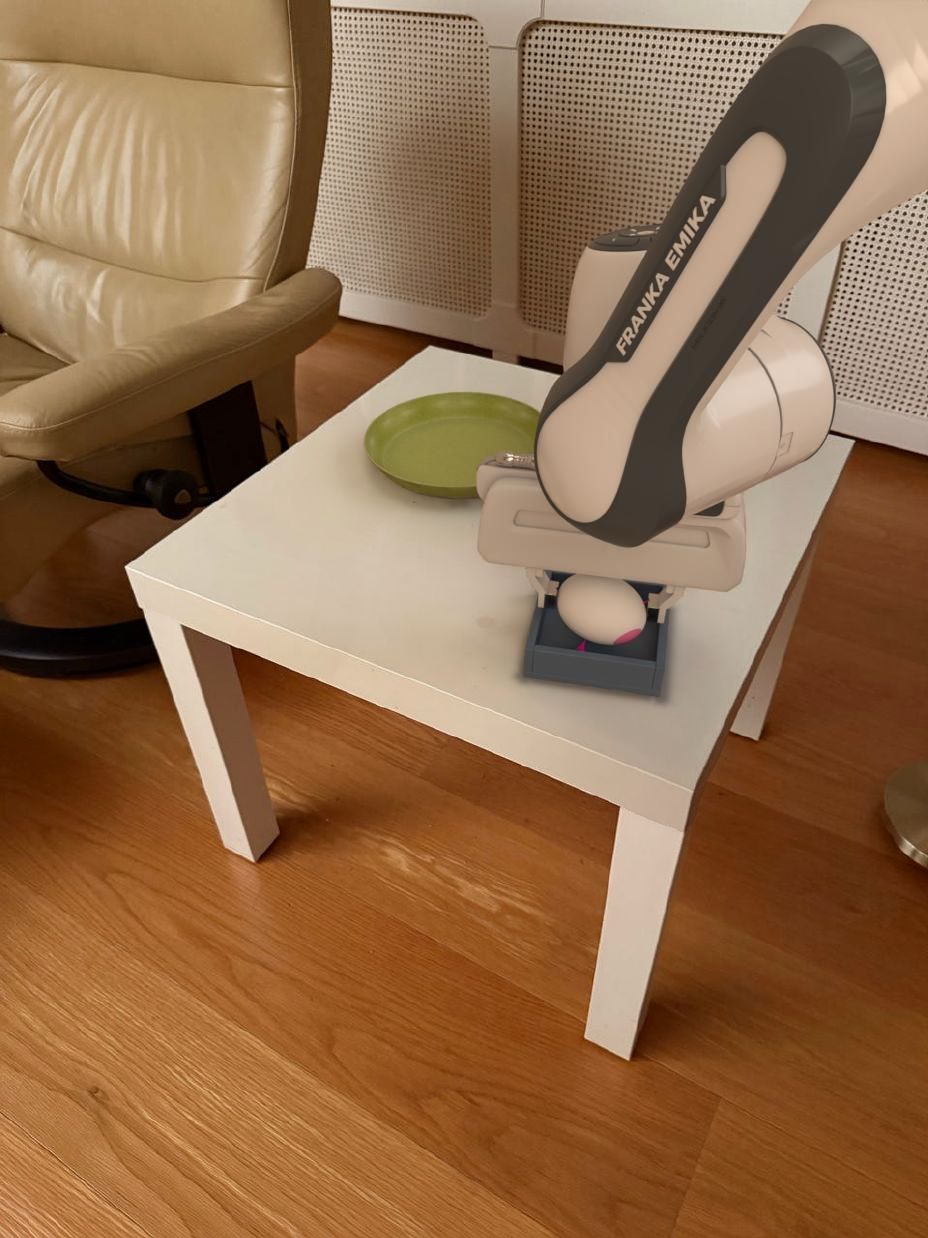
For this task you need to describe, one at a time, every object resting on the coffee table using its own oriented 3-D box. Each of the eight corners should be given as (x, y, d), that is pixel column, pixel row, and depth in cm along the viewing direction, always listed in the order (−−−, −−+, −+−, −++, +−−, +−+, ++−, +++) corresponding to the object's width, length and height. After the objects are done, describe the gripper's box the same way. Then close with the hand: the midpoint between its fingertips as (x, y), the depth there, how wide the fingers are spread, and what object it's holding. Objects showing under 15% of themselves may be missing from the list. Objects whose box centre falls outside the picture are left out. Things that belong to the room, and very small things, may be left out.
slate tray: (666, 609, 77) (671, 581, 75) (659, 696, 69) (665, 668, 67) (543, 593, 79) (545, 566, 77) (523, 676, 71) (524, 648, 69)
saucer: (535, 410, 105) (536, 385, 103) (571, 504, 90) (573, 477, 88) (362, 421, 104) (360, 396, 102) (369, 520, 88) (366, 493, 86)
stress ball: (642, 667, 75) (673, 594, 73) (611, 673, 68) (645, 594, 66) (565, 630, 78) (593, 560, 76) (528, 633, 71) (559, 556, 69)
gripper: (467, 471, 62) (468, 618, 71) (765, 502, 59) (727, 653, 68) (484, 428, 67) (484, 572, 76) (762, 455, 63) (727, 602, 72)
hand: (600, 611), depth 72 cm, fingers closed on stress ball, 7 cm apart
